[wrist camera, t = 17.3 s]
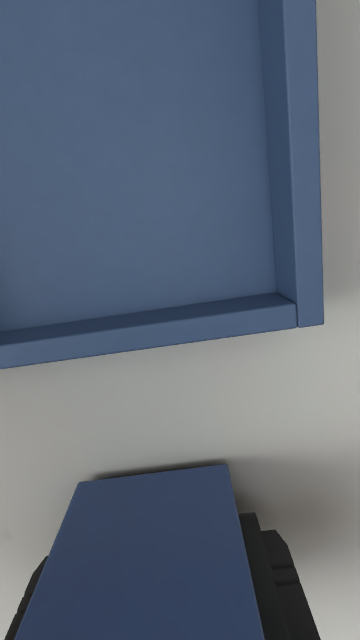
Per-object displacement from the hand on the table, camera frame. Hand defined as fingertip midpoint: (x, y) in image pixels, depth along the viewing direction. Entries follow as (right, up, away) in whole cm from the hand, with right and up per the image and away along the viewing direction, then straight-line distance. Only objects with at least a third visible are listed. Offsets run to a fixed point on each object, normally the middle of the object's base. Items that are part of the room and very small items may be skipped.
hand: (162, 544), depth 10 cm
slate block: (0, 0, 0) cm, 0 cm away
